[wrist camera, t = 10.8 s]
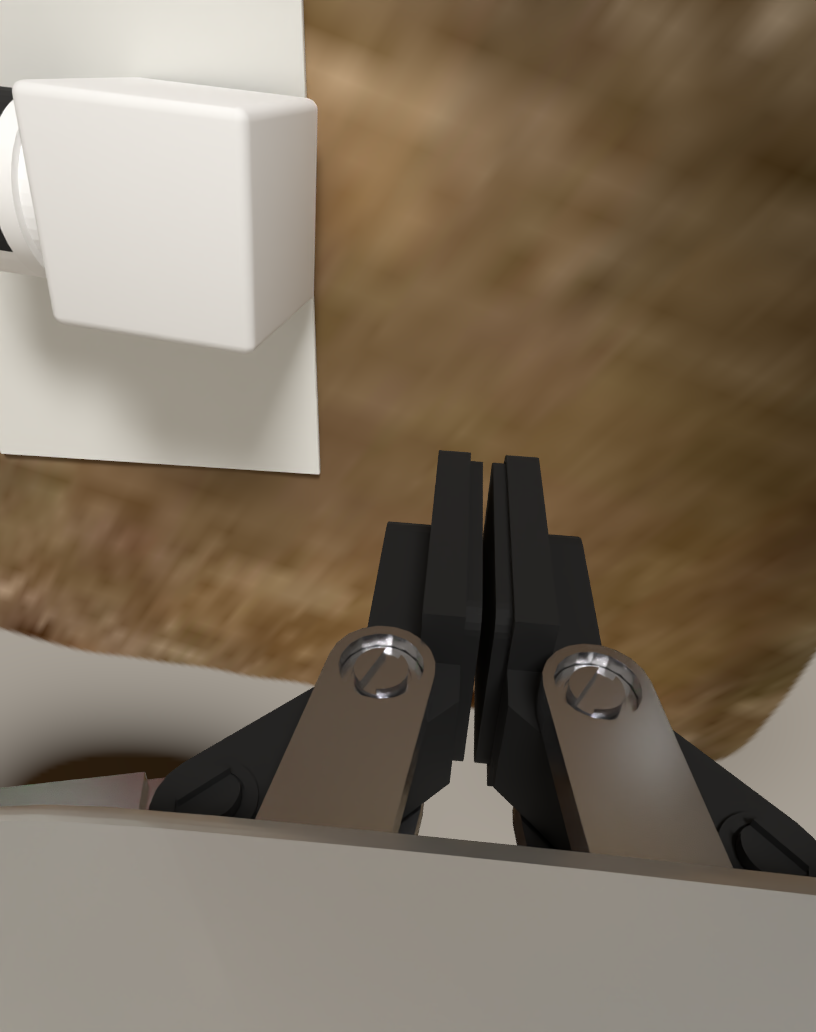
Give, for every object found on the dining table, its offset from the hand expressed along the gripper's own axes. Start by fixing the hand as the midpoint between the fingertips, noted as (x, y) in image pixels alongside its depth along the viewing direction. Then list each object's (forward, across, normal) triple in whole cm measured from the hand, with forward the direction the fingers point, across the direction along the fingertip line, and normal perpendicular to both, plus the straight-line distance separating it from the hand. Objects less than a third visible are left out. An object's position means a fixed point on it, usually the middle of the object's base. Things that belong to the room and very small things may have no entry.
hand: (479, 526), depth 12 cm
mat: (+19, +15, +2) cm, 25 cm away
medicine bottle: (+15, +6, -1) cm, 16 cm away
